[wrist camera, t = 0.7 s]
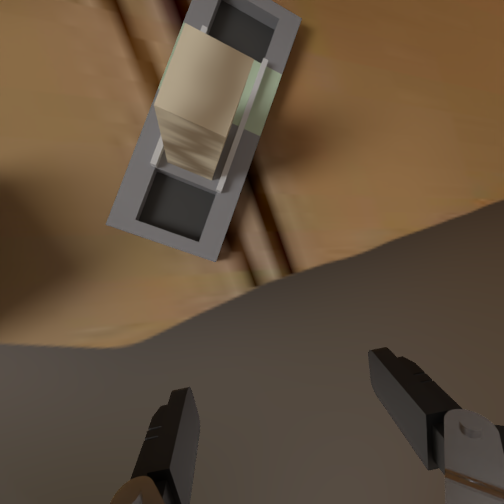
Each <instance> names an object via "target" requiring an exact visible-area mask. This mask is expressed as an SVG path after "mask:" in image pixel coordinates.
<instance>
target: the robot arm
mask: <svg viewBox="0 0 504 504" xmlns="http://www.w3.org/2000/svg"><path fill="white" fill-rule="evenodd" d="M368 357H369V368H370V378H371V384H372V387H373V389H374V392H375V393H376V395H377V397H378V398H379V400H380V401H381V403H382V404H383V406H384V407H385V408H386V410H387V411H388V413H389V414H390V416H391V417H392V419H393V420H394V421H395V423H396V424H397V426H398V427H399V429H400V430H401V432H402V433H403V435H404V436H405V438H406V439H407V440H408V442H409V443H410V445H411V446H412V448H413V449H414V451H415V452H416V454H417V455H418V456H419V458H420V459H421V461H422V462H423V464H424V465H425V467H426V468H427V469H428V470H433V469H437V468H440V470H441V471H442V472H443V474H444V475H445V504H504V426H500V425H494V424H493V423H491V421H489V420H488V419H487V418H485V417H484V416H482V415H480V414H478V413H475V412H473V411H470V410H465V409H462V408H461V407H460V406H459V405H458V404H457V403H456V402H455V401H454V400H453V399H452V398H451V397H450V396H448V394H446V393H445V392H444V391H443V390H442V389H441V388H440V387H439V386H438V385H437V384H436V383H435V382H434V381H432V379H431V378H430V377H429V376H428V375H427V374H425V373H424V371H423V370H422V369H421V368H420V367H419V366H418V365H416V363H414V362H412V361H410V360H408V359H406V358H404V357H398V358H397V357H396V356H395V355H394V354H393V353H392V352H391V351H390V350H389V349H388V348H387V347H384V348H379V349H374V350H370V351H369V352H368ZM199 433H200V420H199V415H198V411H197V407H196V404H195V400H194V397H193V393H192V390H191V388H190V387H188V388H183V389H178V390H173V391H172V392H171V395H170V399H169V402H168V405H164V406H161V407H160V408H159V409H158V411H157V412H156V413H155V415H154V416H153V417H152V420H151V423H150V426H149V431H147V434H146V437H145V441H144V443H143V446H142V448H141V451H140V454H139V457H138V460H137V463H136V466H135V468H134V471H133V474H132V477H131V479H130V481H128V482H127V483H125V484H124V485H123V486H122V487H121V488H120V489H119V490H118V491H117V493H116V494H115V495H114V497H113V498H112V500H111V502H110V504H190V498H191V490H192V484H193V477H194V469H195V462H196V455H197V447H198V441H199Z"/></svg>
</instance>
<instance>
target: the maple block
mask: <svg viewBox="0 0 504 504" xmlns="http://www.w3.org/2000/svg"><path fill="white" fill-rule="evenodd" d="M253 61H254V59H253V58H251V57H249V56H247V55H245V54H243V53H241V52H239V51H237V50H236V49H234V48H232V47H230V46H228V45H226V44H224V43H222V42H220V41H219V40H217V39H215V38H213V37H211V36H209V35H207V34H205V33H204V32H202V31H200V30H198V29H196V28H194V27H192V26H190V25H188V24H187V23H185V25H184V27H183V30H182V33H181V35H180V38H179V40H178V43H177V46H176V48H175V51H174V53H173V56H172V59H171V61H170V64H169V66H168V69H167V72H166V74H165V77H164V79H163V82H162V85H161V87H160V90H159V92H158V95H157V98H156V100H155V103H154V108H155V112H156V116H157V120H158V125H159V129H160V133H161V137H162V141H163V145H164V150H165V154H166V158H167V162H168V163H170V164H173V165H175V166H178V167H180V168H183V169H185V170H187V171H190V172H192V173H195V174H197V175H200V176H202V177H205V178H207V179H209V180H212V178H213V175H214V172H215V170H216V167H217V164H218V161H219V158H220V156H221V153H222V150H223V147H224V145H225V142H226V139H227V136H228V134H229V131H230V128H231V125H232V122H233V119H234V116H235V113H236V111H237V108H238V105H239V102H240V99H241V96H242V93H243V90H244V87H245V85H246V82H247V79H248V76H249V73H250V70H251V67H252V64H253Z"/></svg>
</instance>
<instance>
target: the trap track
mask: <svg viewBox="0 0 504 504" xmlns="http://www.w3.org/2000/svg"><path fill="white" fill-rule="evenodd" d="M301 19H302V18H300V17H299V16H297V15H295V14H293V13H292V12H290V11H288V10H287V9H285V8H283V7H282V6H280V5H278V4H276V3H275V2H273V1H271V0H192V2H191V4H190V7H189V9H188V12H187V15H186V17H185V20H184V22H183V25H182V28H181V30H180V33H179V35H178V38H177V41H176V43H175V46H174V48H173V51H172V53H171V56H170V59H169V61H168V64H167V66H166V69H165V72H164V74H163V77H162V79H161V82H160V85H159V87H158V90H157V92H156V95H155V98H154V100H153V103H152V105H151V108H150V111H149V113H148V116H147V118H146V121H145V124H144V126H143V129H142V131H141V134H140V137H139V139H138V142H137V144H136V147H135V150H134V152H133V155H132V157H131V160H130V163H129V165H128V168H127V170H126V173H125V176H124V178H123V181H122V183H121V186H120V189H119V191H118V194H117V196H116V199H115V202H114V204H113V207H112V209H111V212H110V215H109V217H108V220H107V222H106V225H108V226H111V227H114V228H117V229H120V230H123V231H126V232H129V233H132V234H134V235H137V236H140V237H143V238H146V239H149V240H152V241H155V242H158V243H161V244H164V245H167V246H170V247H173V248H175V249H178V250H181V251H184V252H187V253H190V254H193V255H196V256H199V257H202V258H205V259H208V260H211V261H214V262H216V260H217V258H218V255H219V252H220V249H221V246H222V243H223V241H224V238H225V235H226V232H227V229H228V226H229V224H230V221H231V218H232V215H233V212H234V209H235V207H236V204H237V201H238V198H239V195H240V192H241V190H242V187H243V184H244V181H245V178H246V175H247V173H248V170H249V167H250V164H251V161H252V158H253V156H254V153H255V150H256V147H257V144H258V141H259V139H260V136H261V133H262V130H263V127H264V124H265V122H266V119H267V116H268V113H269V110H270V107H271V105H272V102H273V99H274V96H275V93H276V90H277V88H278V85H279V82H280V79H281V76H282V73H283V71H284V68H285V65H286V62H287V59H288V56H289V54H290V51H291V48H292V45H293V42H294V39H295V36H296V34H297V31H298V28H299V25H300V22H301ZM185 23H187V24H188V25H190V26H192V27H194V28H196V29H198V30H200V31H202V32H204V33H205V34H207V35H209V36H211V37H213V38H215V39H217V40H219V41H220V42H222V43H224V44H226V45H228V46H230V47H232V48H234V49H236V50H237V51H239V52H241V53H243V54H245V55H247V56H249V57H251V58H253V59H254V61H253V64H252V67H251V70H250V73H249V76H248V79H247V82H246V85H245V87H244V90H243V93H242V96H241V99H240V102H239V105H238V108H237V111H236V113H235V116H234V119H233V122H232V125H231V128H230V131H229V134H228V136H227V139H226V142H225V145H224V147H223V150H222V153H221V156H220V158H219V161H218V164H217V167H216V170H215V172H214V175H213V178H212V180H209V179H207V178H205V177H202V176H200V175H197V174H195V173H192V172H190V171H187V170H185V169H183V168H180V167H178V166H175V165H173V164H170V163H168V162H167V158H166V154H165V150H164V145H163V141H162V137H161V133H160V129H159V125H158V120H157V116H156V112H155V108H154V103H155V100H156V98H157V95H158V92H159V90H160V87H161V85H162V82H163V79H164V77H165V74H166V72H167V69H168V66H169V64H170V61H171V59H172V56H173V53H174V51H175V48H176V46H177V43H178V40H179V38H180V35H181V33H182V30H183V27H184V25H185Z"/></svg>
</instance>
